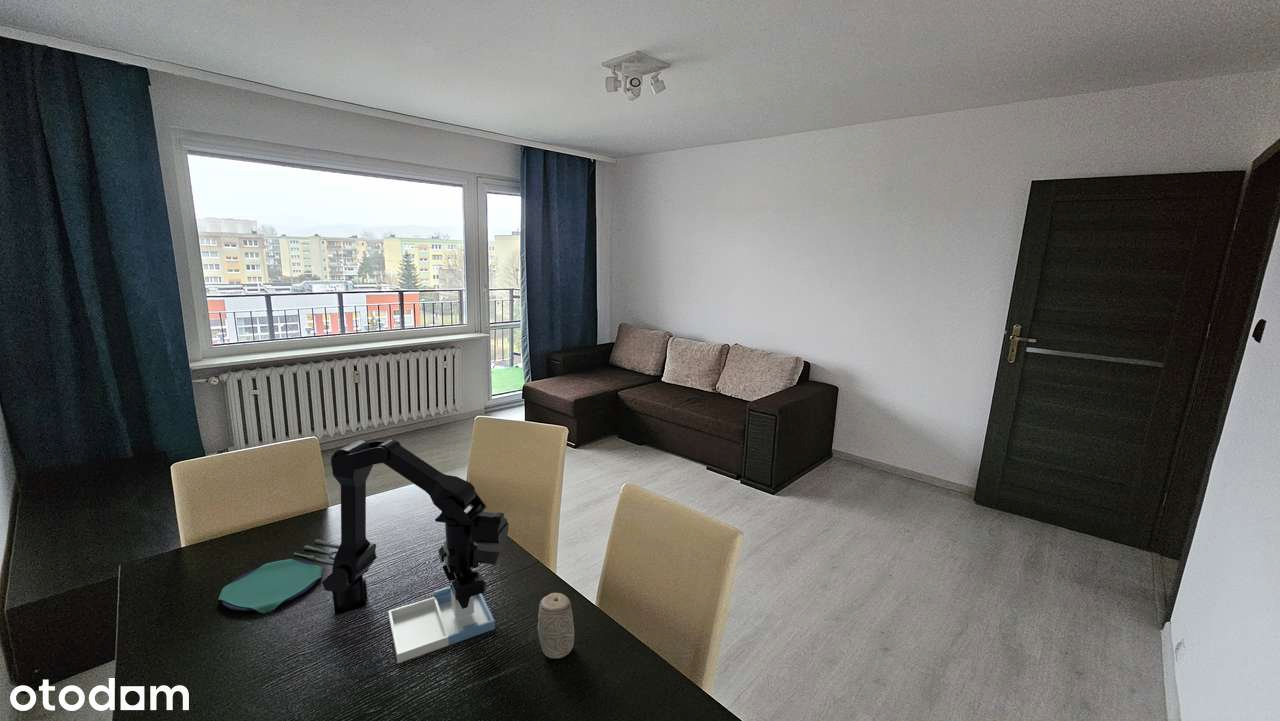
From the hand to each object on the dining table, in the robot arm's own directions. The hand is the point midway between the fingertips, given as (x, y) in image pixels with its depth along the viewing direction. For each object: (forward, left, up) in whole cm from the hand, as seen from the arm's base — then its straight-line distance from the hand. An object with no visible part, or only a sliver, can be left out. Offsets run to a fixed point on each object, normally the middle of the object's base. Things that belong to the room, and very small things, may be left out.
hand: (462, 602), depth 115 cm
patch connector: (0, 0, -2) cm, 2 cm away
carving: (+14, -20, -4) cm, 25 cm away
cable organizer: (-5, 0, -4) cm, 6 cm away
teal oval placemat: (-33, +37, -5) cm, 50 cm away
